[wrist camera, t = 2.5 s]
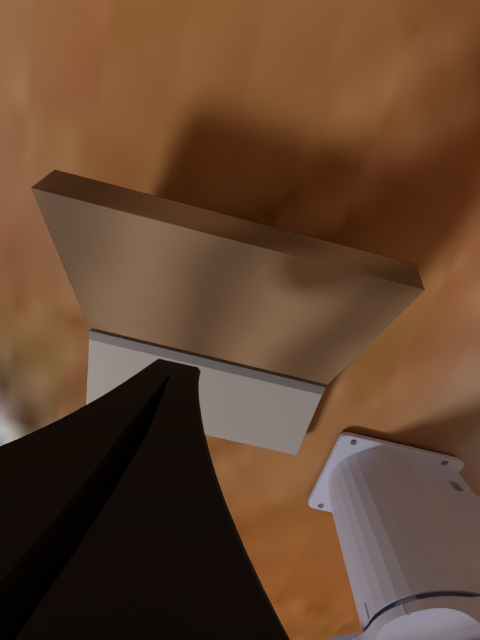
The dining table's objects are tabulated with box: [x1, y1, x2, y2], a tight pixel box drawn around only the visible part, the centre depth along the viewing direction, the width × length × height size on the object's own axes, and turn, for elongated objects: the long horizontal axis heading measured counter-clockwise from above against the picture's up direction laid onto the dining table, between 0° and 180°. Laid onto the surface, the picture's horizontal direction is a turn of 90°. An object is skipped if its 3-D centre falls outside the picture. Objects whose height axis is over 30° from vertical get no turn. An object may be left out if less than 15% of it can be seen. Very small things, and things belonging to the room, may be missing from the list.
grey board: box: [86, 328, 326, 455], centre depth 19 cm, size 15×6×2 cm, turn 76°
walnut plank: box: [31, 170, 424, 385], centre depth 14 cm, size 15×9×2 cm, turn 76°
